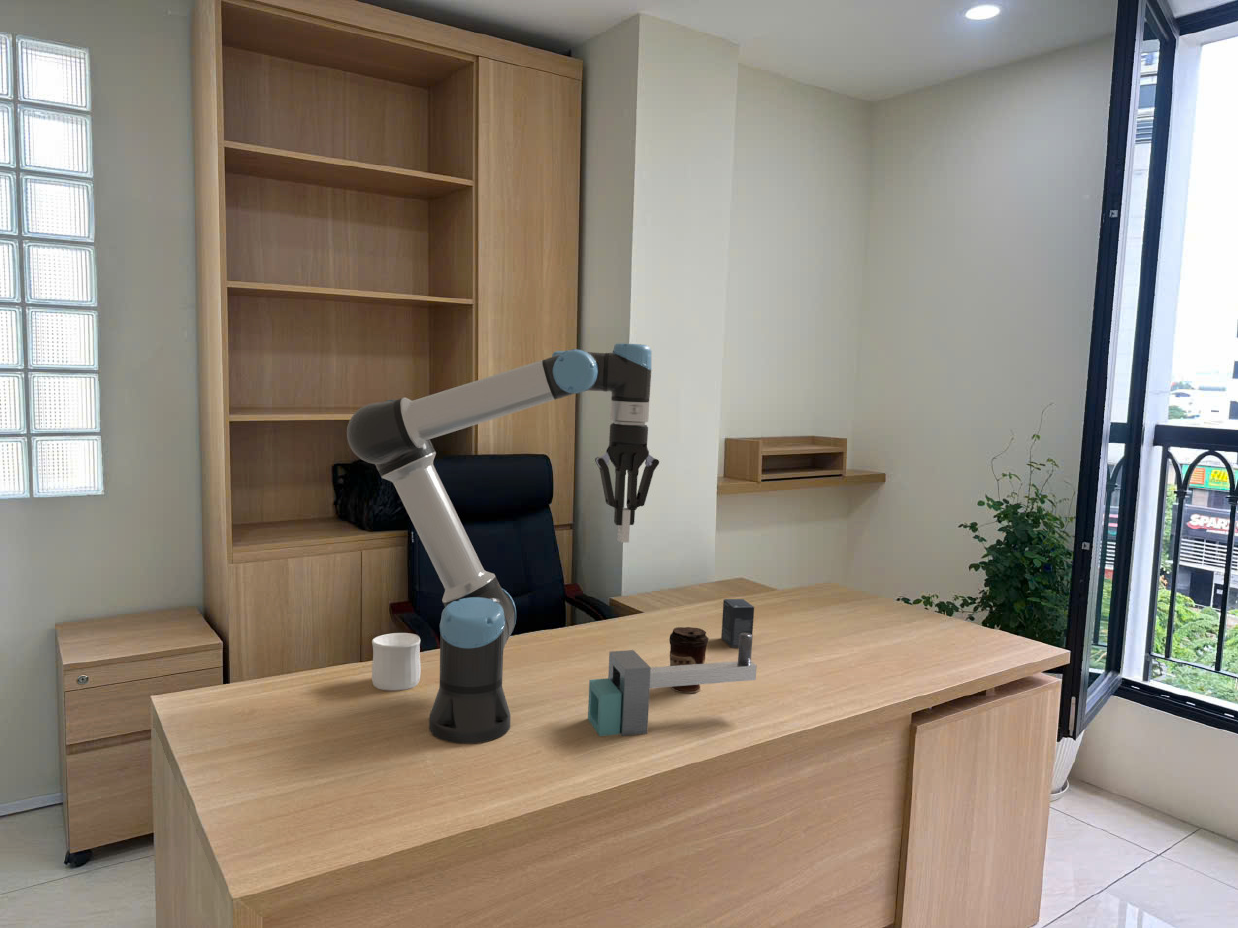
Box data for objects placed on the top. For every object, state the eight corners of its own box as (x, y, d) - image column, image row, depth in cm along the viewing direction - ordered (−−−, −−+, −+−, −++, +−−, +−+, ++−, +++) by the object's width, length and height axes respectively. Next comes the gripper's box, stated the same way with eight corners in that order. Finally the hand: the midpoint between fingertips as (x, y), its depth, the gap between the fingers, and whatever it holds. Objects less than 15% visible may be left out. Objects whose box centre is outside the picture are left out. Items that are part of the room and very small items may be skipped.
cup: (429, 684, 182) (430, 639, 181) (388, 696, 174) (388, 649, 173) (404, 672, 188) (404, 629, 187) (363, 683, 181) (363, 638, 180)
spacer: (599, 736, 160) (601, 695, 159) (587, 719, 168) (589, 679, 167) (619, 734, 161) (621, 693, 160) (607, 717, 169) (609, 678, 168)
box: (752, 647, 216) (754, 606, 215) (730, 648, 214) (733, 607, 213) (741, 637, 223) (743, 598, 222) (720, 638, 222) (722, 598, 221)
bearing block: (622, 736, 160) (625, 669, 159) (606, 715, 170) (609, 651, 168) (647, 733, 162) (650, 667, 160) (630, 713, 171) (633, 650, 170)
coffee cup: (693, 699, 180) (696, 639, 178) (659, 690, 184) (662, 631, 183) (711, 687, 187) (715, 629, 186) (678, 678, 192) (681, 622, 190)
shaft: (633, 689, 164) (635, 644, 163) (628, 683, 167) (630, 639, 166) (755, 680, 172) (758, 636, 171) (749, 674, 175) (751, 632, 174)
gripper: (602, 423, 162) (597, 545, 165) (667, 425, 166) (660, 544, 169) (592, 420, 169) (586, 537, 172) (653, 422, 173) (647, 536, 176)
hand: (623, 541), depth 171 cm, fingers closed
